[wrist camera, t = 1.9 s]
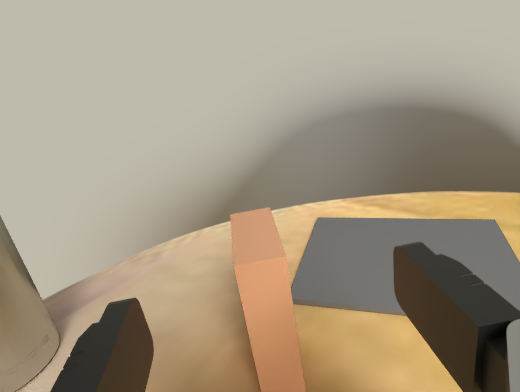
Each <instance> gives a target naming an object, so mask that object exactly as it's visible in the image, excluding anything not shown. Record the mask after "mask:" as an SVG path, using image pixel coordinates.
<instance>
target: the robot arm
mask: <svg viewBox="0 0 520 392" xmlns="http://www.w3.org/2000/svg"><path fill="white" fill-rule="evenodd" d="M393 269H394V292H395V296H396V299H397V301H398V303H399V305H400V307H401V309H402V310H403V311H404V313H405V314H406V315H407V317H408V318H409V319H410V321H411V322H412V323H413V325H414V326H415V327H416V329H417V330H418V331H419V333H420V334H421V335H422V337H423V338H424V340H425V341H426V342H427V344H428V345H429V346H430V348H431V349H432V350H433V352H434V353H435V354H436V356H437V357H438V358H439V360H440V361H441V362H442V364H443V365H444V366H445V368H446V369H447V371H448V372H449V373H450V375H451V376H452V377H453V379H454V380H455V381H456V383H457V384H458V385H459V387H460V388H461V389H462V391H463V392H520V311H519V310H518V309H516V308H515V307H514V306H513V305H512V304H510V303H509V302H508V301H507V300H505V299H504V298H503V297H502V296H501V295H499V294H498V293H497V292H496V291H495V290H493V289H492V288H491V287H490V286H488V285H487V284H484V281H482V280H481V279H480V278H479V277H477V276H476V275H473V272H471V271H470V270H469V269H468V268H467V267H465V266H464V265H463V264H462V263H460V262H459V261H457V260H454V259H452V258H450V257H448V256H445V255H443V254H439V255H436V254H435V253H434V252H433V251H431V250H430V249H429V248H428V247H427V246H426V245H425V244H423V243H422V242H414V243H409V244H404V245H399V246H396V247H395V248H394V250H393ZM59 341H60V338H59V333H58V331H57V329H56V327H55V325H54V323H53V321H52V319H51V317H50V315H49V313H48V311H47V309H46V307H45V305H44V303H43V301H42V299H41V297H40V295H39V293H38V291H37V289H36V287H35V285H34V283H33V281H32V279H31V276H30V275H29V272H28V271H27V268H26V266H25V265H24V263H23V260H22V259H21V256H20V254H19V252H18V251H17V248H16V246H15V244H14V243H13V240H12V239H11V236H10V234H9V232H8V230H7V228H6V226H5V224H4V222H3V220H2V218H1V216H0V392H15V391H16V390H18V389H19V388H21V387H22V386H23V385H25V384H26V383H28V382H29V381H30V380H31V379H32V378H34V377H35V376H36V375H37V374H38V373H39V372H40V371H41V370H42V369H43V368H44V367H45V366H46V365H47V364H48V363H49V361H50V360H51V359H52V357H53V356H54V354H55V352H56V350H57V348H58V346H59ZM153 352H154V349H153V340H152V336H151V333H150V330H149V328H148V325H147V322H146V319H145V316H144V314H143V311H142V308H141V305H140V303H139V301H138V300H137V299H136V298H131V299H126V300H121V301H116V302H111V303H109V304H108V305H107V307H106V309H105V311H104V313H103V315H102V318H101V320H100V322H98V323H94V324H92V325H91V326H90V327H89V328H88V329H87V330H86V331H85V332H84V333H83V334H82V335H81V336H80V337H79V338H78V340H77V342H76V344H75V346H74V348H73V350H72V352H71V353H70V355H71V356H70V357H68V359H67V361H66V363H65V365H64V367H63V368H64V369H63V370H62V371H61V372H60V374H59V376H58V378H57V380H56V382H55V384H54V386H53V388H52V390H51V391H50V392H145V389H146V385H147V381H148V377H149V373H150V368H151V364H152V360H153Z"/></svg>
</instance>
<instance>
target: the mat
mask: <svg viewBox="0 0 520 392" xmlns="http://www.w3.org/2000/svg"><path fill="white" fill-rule="evenodd" d="M414 242H422V243H423V244H425V245H426V246H427V247H428V248H429V249H430V250H431V251H433V252H434V253H435V254H436V255H439V254H443V255H445V256H448V257H450V258H452V259H454V260H457V261H459V262H460V263H462V264H463V265H464V266H465V267H467V268H468V269H469V270H470V271H471V272H473V275H476V276H477V277H479V278H480V279H481V280H482V281H484V284H487V285H488V286H490V287H491V288H492V289H493V290H495V291H496V292H497V293H498V294H499V295H501V296H502V297H503V298H504V299H505V300H507V301H508V302H509V303H510V304H512V305H513V306H514V307H515V308H516V309H518V310H519V311H520V262H519V260H518V259H517V257H516V255H515V253H514V252H513V250H512V248H511V246H510V245H509V243H508V241H507V240H506V238H505V236H504V234H503V233H502V231H501V229H500V228H499V226H498V224H497V222H496V221H495V220H483V219H399V218H317V221H316V224H315V226H314V229H313V232H312V234H311V237H310V240H309V242H308V245H307V248H306V250H305V253H304V256H303V258H302V261H301V264H300V266H299V269H298V271H297V274H296V277H295V279H294V282H293V285H292V287H291V294H292V301H293V304H301V305H310V306H320V307H330V308H339V309H349V310H358V311H368V312H377V313H387V314H396V315H406V314H405V313H404V311H403V310H402V309H401V307H400V305H399V303H398V301H397V299H396V296H395V292H394V269H393V250H394V248H395V247H396V246H399V245H404V244H409V243H414ZM406 316H407V315H406Z"/></svg>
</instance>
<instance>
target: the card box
mask: <svg viewBox="0 0 520 392" xmlns="http://www.w3.org/2000/svg"><path fill="white" fill-rule="evenodd" d="M231 231H232V247H233V264H234V270H235V275H236V279H237V284H238V288H239V293H240V298H241V302H242V307H243V311H244V316H245V321H246V325H247V330H248V334H249V339H250V343H251V348H252V353H253V357H254V362H255V366H256V371H257V375H258V380H259V385H260V389H261V392H306V389H305V383H304V376H303V369H302V362H301V355H300V349H299V342H298V335H297V328H296V321H295V314H294V308H293V301H292V294H291V287H290V280H289V274H288V267H287V260H286V255H285V252H284V249H283V246H282V243H281V240H280V237H279V234H278V231H277V228H276V225H275V222H274V219H273V216H272V213H271V210H270V208H264V209H258V210H253V211H247V212H242V213H236V214H231Z"/></svg>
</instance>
